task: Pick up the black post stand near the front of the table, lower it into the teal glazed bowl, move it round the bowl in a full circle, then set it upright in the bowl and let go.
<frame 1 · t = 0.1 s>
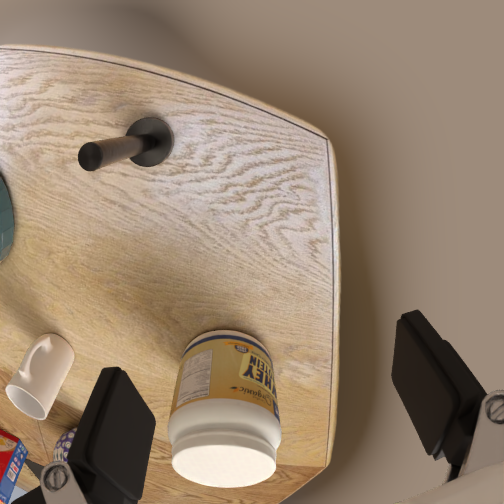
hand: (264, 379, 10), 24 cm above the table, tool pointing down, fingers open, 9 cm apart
supplement tub: (226, 360, 41), on the table
black post stand: (150, 141, 29), on the table
architectural model: (71, 491, 66), on the table
mug: (57, 340, 39), on the table
teapot: (95, 440, 50), on the table
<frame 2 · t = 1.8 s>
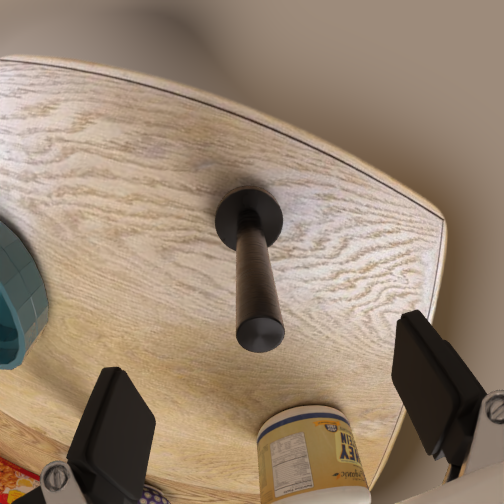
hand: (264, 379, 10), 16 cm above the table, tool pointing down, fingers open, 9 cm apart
supplement tub: (302, 427, 36), on the table
pasta box: (11, 465, 49), on the table
black post stand: (248, 217, 24), on the table
teapot: (139, 488, 45), on the table
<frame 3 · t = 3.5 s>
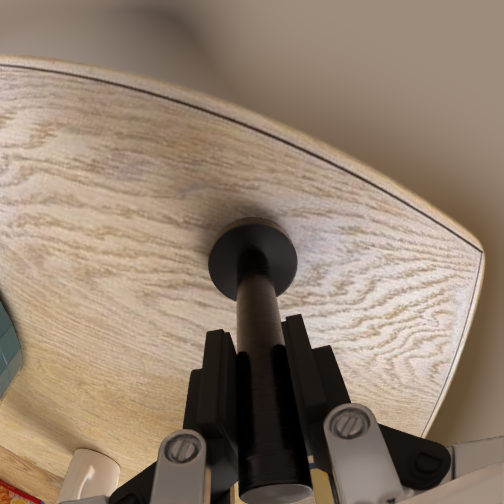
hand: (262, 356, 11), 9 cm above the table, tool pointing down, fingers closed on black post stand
supplement tub: (309, 469, 30), on the table
pasta box: (5, 484, 42), on the table
black post stand: (252, 257, 19), on the table, touching gripper
mug: (96, 454, 28), on the table
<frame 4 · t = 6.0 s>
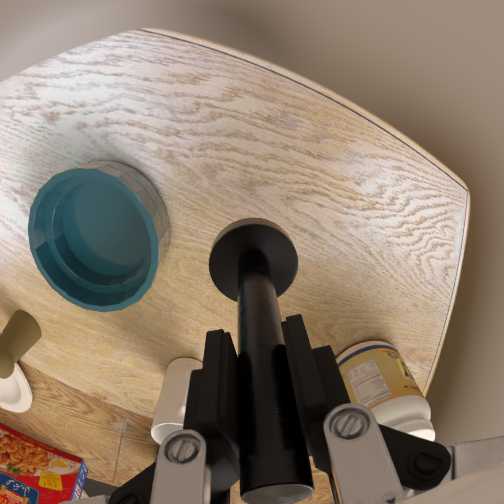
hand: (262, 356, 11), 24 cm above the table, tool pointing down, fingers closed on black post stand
supplement tub: (361, 366, 44), on the table
pasta box: (41, 447, 56), on the table
black post stand: (252, 258, 19), point 16 cm above the table, touching gripper
architectural model: (124, 503, 70), on the table
bowl: (107, 226, 34), on the table
olive pawn: (27, 325, 39), on the table
mug: (190, 363, 42), on the table
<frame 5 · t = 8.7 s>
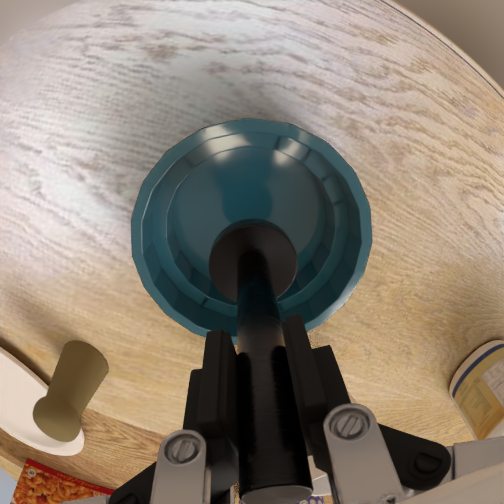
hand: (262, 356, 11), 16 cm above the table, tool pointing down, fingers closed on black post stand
supplement tub: (477, 367, 35), on the table
pasta box: (82, 484, 48), on the table
plate: (13, 394, 35), on the table
black post stand: (252, 258, 19), point 7 cm above the table, touching gripper
bowl: (249, 219, 25), on the table
olive pawn: (85, 359, 31), on the table
mug: (321, 389, 34), on the table
teapot: (278, 484, 45), on the table
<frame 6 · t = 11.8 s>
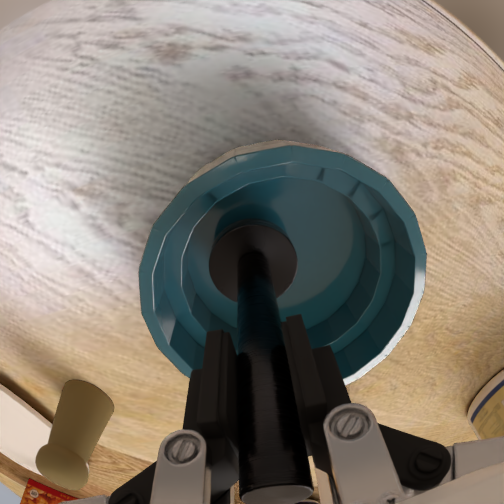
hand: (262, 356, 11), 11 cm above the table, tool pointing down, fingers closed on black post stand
supplement tub: (495, 390, 32), on the table
plate: (12, 422, 31), on the table
black post stand: (252, 258, 19), point 2 cm above the table, touching gripper
bowl: (278, 257, 21), on the table
olive pawn: (88, 398, 27), on the table
mug: (342, 424, 30), on the table
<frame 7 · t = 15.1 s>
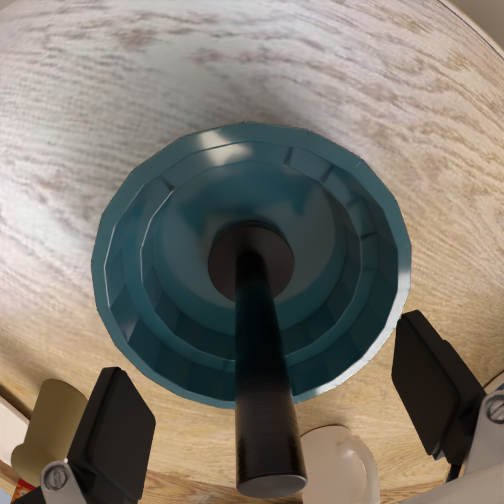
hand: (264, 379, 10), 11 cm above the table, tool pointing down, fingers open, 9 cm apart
black post stand: (250, 259, 19), point 1 cm above the table, touching bowl
bowl: (250, 252, 20), on the table
olive pawn: (66, 398, 25), on the table
mug: (330, 431, 28), on the table
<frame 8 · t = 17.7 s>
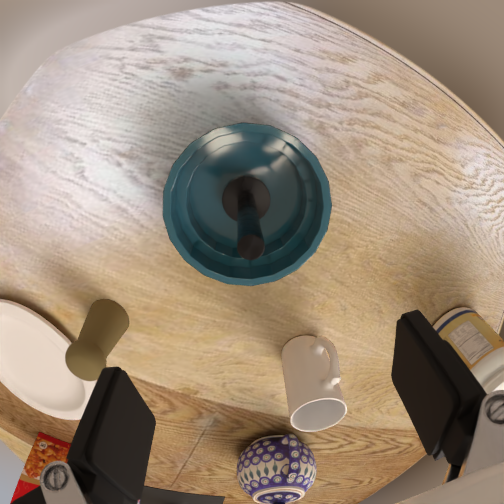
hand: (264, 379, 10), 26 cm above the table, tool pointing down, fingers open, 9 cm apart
supplement tub: (448, 333, 44), on the table
pasta box: (90, 456, 57), on the table
plate: (35, 360, 43), on the table
black post stand: (246, 197, 33), point 1 cm above the table, touching bowl
bowl: (245, 195, 34), on the table
olive pawn: (109, 316, 40), on the table
mug: (306, 342, 42), on the table
teapot: (273, 446, 53), on the table
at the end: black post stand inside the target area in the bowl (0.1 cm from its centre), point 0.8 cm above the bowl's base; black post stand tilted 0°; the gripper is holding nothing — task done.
